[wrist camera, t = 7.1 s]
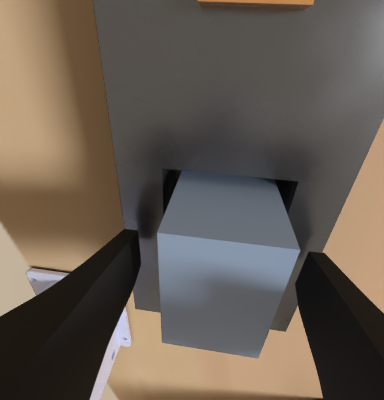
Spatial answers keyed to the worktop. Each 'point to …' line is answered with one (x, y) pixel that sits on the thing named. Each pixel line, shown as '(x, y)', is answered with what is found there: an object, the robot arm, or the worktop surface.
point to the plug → (223, 262)
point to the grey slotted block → (241, 108)
